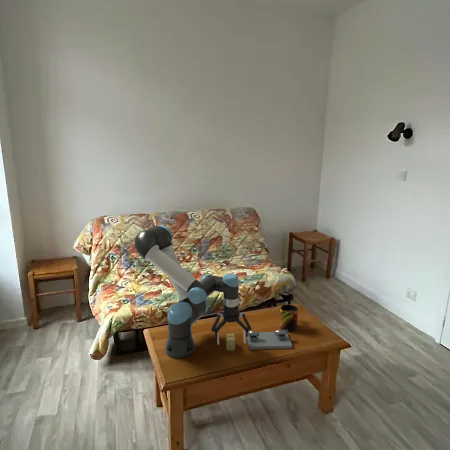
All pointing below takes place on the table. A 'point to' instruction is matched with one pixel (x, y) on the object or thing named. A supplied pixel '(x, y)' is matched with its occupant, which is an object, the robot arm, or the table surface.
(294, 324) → the patterned mug
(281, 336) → the shaft right
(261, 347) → the base plate
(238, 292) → the robot arm
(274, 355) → the table surface
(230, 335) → the tan rectangular block
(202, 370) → the table surface
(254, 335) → the shaft left
